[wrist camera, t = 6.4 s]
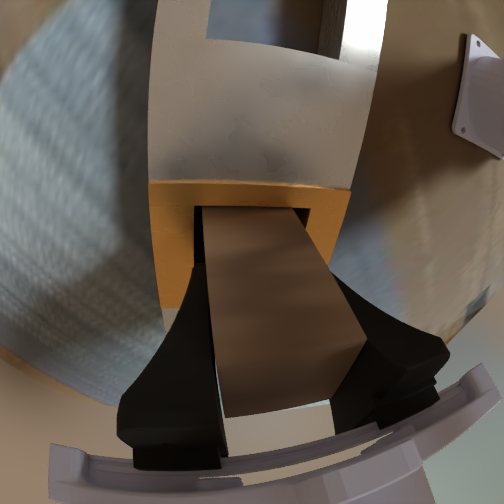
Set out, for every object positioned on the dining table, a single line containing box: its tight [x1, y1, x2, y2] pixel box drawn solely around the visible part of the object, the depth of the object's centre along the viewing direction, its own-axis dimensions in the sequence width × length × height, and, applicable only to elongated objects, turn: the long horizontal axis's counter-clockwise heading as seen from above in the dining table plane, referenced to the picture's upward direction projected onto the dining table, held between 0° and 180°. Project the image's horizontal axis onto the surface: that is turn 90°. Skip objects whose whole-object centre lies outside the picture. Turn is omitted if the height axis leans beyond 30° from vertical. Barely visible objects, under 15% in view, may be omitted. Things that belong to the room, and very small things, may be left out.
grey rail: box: [148, 0, 387, 332], centre depth 11 cm, size 9×24×3 cm, turn 173°
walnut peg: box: [202, 206, 367, 418], centre depth 11 cm, size 4×4×9 cm
